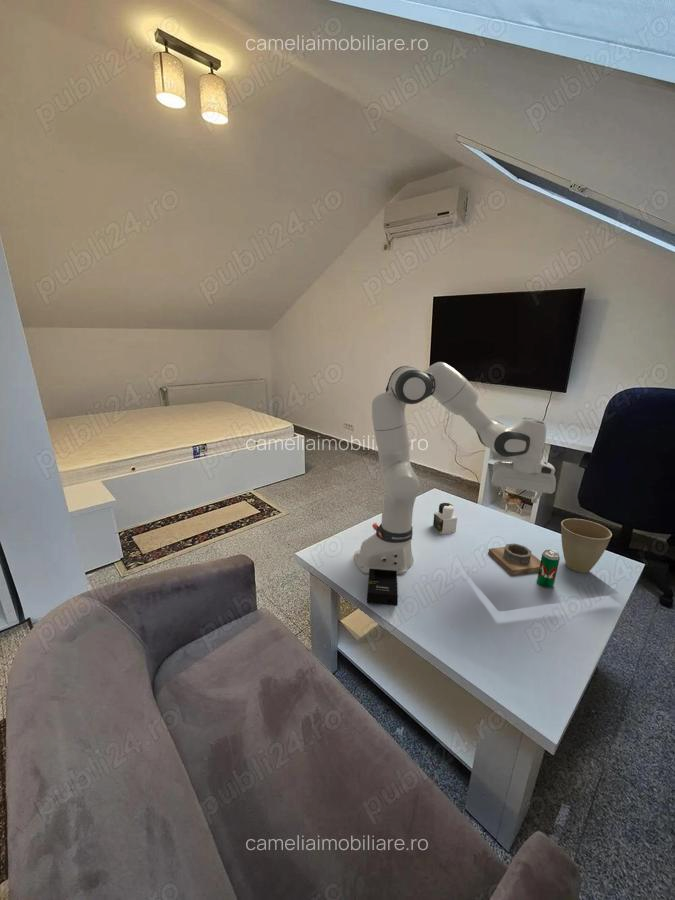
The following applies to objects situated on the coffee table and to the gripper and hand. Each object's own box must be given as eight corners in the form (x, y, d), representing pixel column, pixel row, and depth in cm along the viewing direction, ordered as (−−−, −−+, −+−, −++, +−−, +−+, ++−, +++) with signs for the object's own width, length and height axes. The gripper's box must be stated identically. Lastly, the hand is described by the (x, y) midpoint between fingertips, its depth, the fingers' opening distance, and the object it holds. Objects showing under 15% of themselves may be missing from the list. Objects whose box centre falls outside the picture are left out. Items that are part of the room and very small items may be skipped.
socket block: (511, 575, 127) (513, 563, 125) (488, 553, 140) (489, 541, 138) (546, 570, 129) (548, 558, 128) (520, 549, 142) (522, 538, 141)
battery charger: (397, 606, 112) (398, 595, 111) (366, 603, 113) (367, 592, 112) (396, 580, 124) (397, 570, 123) (368, 577, 126) (369, 568, 124)
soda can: (553, 582, 123) (560, 551, 119) (553, 590, 119) (560, 559, 115) (537, 577, 126) (543, 547, 122) (536, 585, 121) (542, 554, 118)
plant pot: (601, 563, 133) (610, 525, 129) (602, 585, 122) (613, 543, 117) (555, 550, 141) (562, 514, 137) (552, 570, 130) (560, 530, 125)
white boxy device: (432, 527, 159) (434, 502, 156) (446, 524, 161) (448, 500, 158) (441, 534, 153) (444, 509, 149) (456, 532, 155) (458, 507, 151)
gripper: (494, 462, 126) (488, 499, 130) (560, 470, 119) (552, 508, 123) (493, 457, 132) (488, 492, 136) (556, 465, 125) (548, 501, 129)
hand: (519, 500), depth 129 cm, fingers open, 8 cm apart
